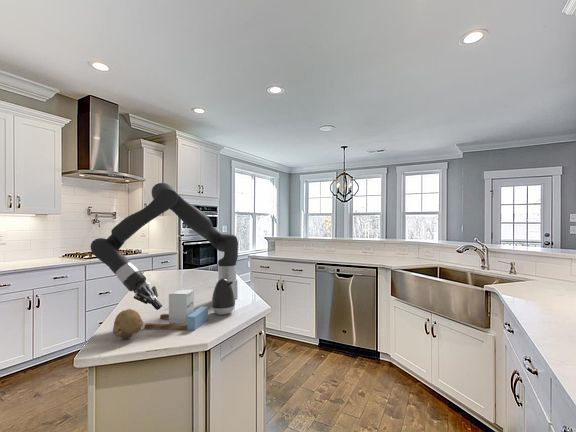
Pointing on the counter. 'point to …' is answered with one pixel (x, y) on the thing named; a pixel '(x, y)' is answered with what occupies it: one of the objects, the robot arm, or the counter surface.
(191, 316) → the blue rectangular block
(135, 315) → the brown potato
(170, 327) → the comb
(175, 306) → the supplement box
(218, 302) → the pump dispenser
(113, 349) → the counter surface
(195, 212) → the robot arm
